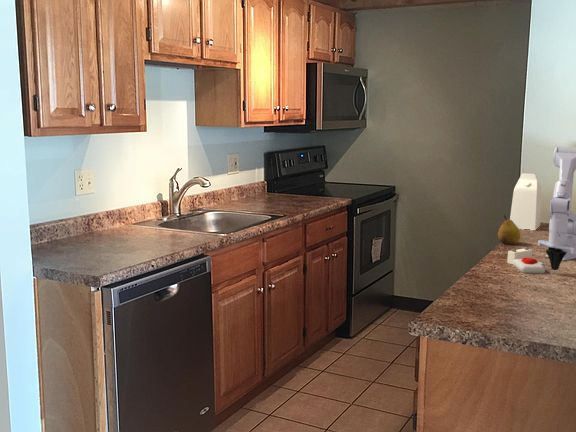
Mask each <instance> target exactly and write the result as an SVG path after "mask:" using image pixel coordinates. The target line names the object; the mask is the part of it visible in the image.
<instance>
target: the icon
mask: <svg viewBox="0 0 576 432" xmlns="http://www.w3.org/2000/svg"><path fill="white" fill-rule="evenodd" d="M512 265H513V266H514V267H515V268H516V269H518V270H519V271H520V272H521V273H523V274H545V272H546V264H545V263H544V262H541V261H538V260H537V259H535V258H533V257H532V258H527V257H525V258H523V259H515V260H514V261H513V264H512Z"/></svg>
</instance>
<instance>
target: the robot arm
mask: <svg viewBox="0 0 576 432" xmlns="http://www.w3.org/2000/svg"><path fill="white" fill-rule="evenodd" d="M553 164H554V165H555V167H556V168H559V178H558V179H559V180H557V181H556V182H555V183H554V188H553V195H552V198H551V199H550V202H549V203H550V204H549V225H548V232H549V233H548V240H544V239H540V240H537V246H539V247H544V248H547V249H546V250H545V252H546V254H545V257H547V258H548V259H549V263H550V267H551V271H558V270H559V268H560V265H561V264H562V261H568V260H573V259H576V213H575V212H574V211H572V200H573V199H572V198H573V187H574V175H575V172H576V147H565V146H564V147H563V146H555V148H554V151H553Z"/></svg>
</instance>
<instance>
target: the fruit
mask: <svg viewBox="0 0 576 432" xmlns="http://www.w3.org/2000/svg"><path fill="white" fill-rule="evenodd" d="M503 217H504V219H505V220H504V221H503V222H502V223H501V225H500V226H499V229H498V232H497V237H498V240H499V242H500V243H502V244H504V245H516V244H517V243H519V241H520V239H521V231H520V229H518V227H517V226H516V225H515V224H514V222H513V221H512V220H510V218H509V219H507V217H506V215H503Z"/></svg>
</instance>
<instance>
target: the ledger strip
mask: <svg viewBox="0 0 576 432" xmlns="http://www.w3.org/2000/svg"><path fill="white" fill-rule="evenodd" d="M525 257H527V258H532V259H533V249H530V247H528V246H525V247H524V248H520V249H515V248H512V249H511V250H508V251H507V262H506V263H507V264H509V265H513V261H514V260H515V259H523V258H525Z"/></svg>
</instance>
